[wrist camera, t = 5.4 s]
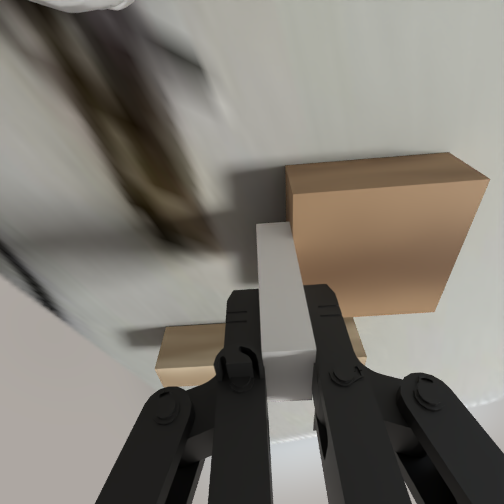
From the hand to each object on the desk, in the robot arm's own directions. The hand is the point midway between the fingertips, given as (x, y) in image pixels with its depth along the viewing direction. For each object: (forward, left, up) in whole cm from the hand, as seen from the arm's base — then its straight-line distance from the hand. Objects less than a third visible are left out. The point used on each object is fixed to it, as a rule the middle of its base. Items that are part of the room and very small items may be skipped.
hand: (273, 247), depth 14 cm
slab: (0, +4, -2) cm, 5 cm away
